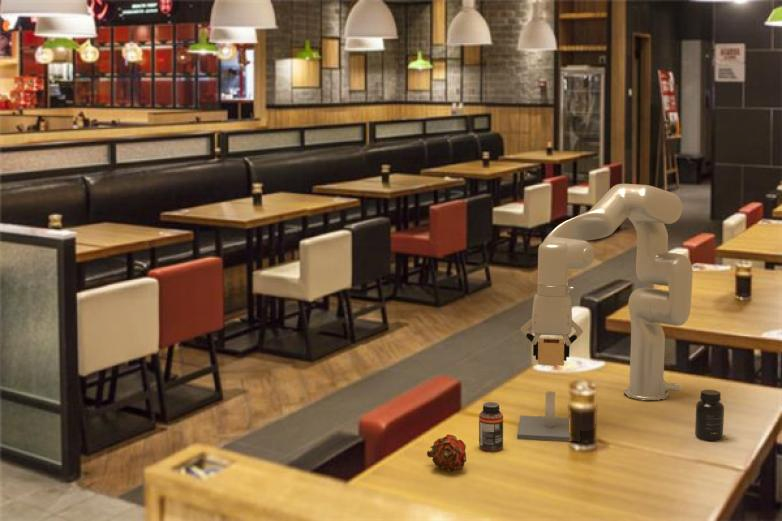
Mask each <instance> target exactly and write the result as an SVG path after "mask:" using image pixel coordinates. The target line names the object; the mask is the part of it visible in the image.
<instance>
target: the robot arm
mask: <svg viewBox="0 0 782 521" xmlns="http://www.w3.org/2000/svg"><path fill="white" fill-rule="evenodd" d="M682 211H683V203H682V200H681V199H680V197H679V196H678V195H677V194H676V193H673V192H671V191H667V190H665V189H662V188H659V187H656V186H653V185H648V184H634V183H632V184H631V183H617V184H615V185H614V186H612V187H611V188H610V189H609V190H608V191H607V192H606V193H605V194H604V195H603V196H602V197H601V198H600V199H599V201H597V203H596V204H595V205H594V206H592V208H591V209H589V210H588V211H586V212H583V213H581V214H579V215H577V216H574V217H571V218H570V219H568V220H565V221H563V222H562V223H559V224H558V225H557V226H556V227H555V228H554V229H552V231H550V232H549V234H548V235H547V236H546V237H545V238H544V240H543V242H542V243H540V244H539V246H538V250H537V252H538V253H537V254H538V255H537V293H536V294H534V297H533V302H532V312H531V319H529V320H528V321H527V322H526V323H525V324H523V325H522V326H521V328H520V332H521V333H523V335H524V336H525V337H526V339H528V340H529V341H530V342H531V344H532V346H533V347H532V356H534V357H535V360H536V361H538V342H539V338H541V336H562V339H564V362H567V358H570V351H571V350H570V346H571V344H573V343H574V342H575V341H576V340H577V339H578V338H579V337H580V336H581V335H582V334H583V333H584V329H583V328H582V327H580V325H578V323H577V322H575V321H574V320H573V313H572V312H573V308H572V307H573V306H572V305H573V304H572V299H571V298H572V297H571V295H569V293H573V292H574V286H570V285H568V281H569V280H568V278H569V277H568V276H569V275H568V274H569V270H583V269H585V268H587V267H590V265H592V263H593V261H594V259H595V256H596V255H595V254H596V252H595V249H594V246H593V245H592V244H591V243H590V242H589V241H593V240H598V239H602V238H605V237H606V238H607V237H608V236H610V235H612V234H613V233H614V232H615V231H616V230H617V229H618V228H619V227H620V226H621V225H622V223H623V222H624V221H625V220H626V219H627V218H628V219H629V221H630V222H631V224H632V225H633V227H634V229H635V231H636V260H635V274H636V277H637V279H638V280H639V281H640V282H642V283H644V284H648V285H649V284H651V285H657V286H661V287H662V286H663V287H667V288H668V290H666V289H662V288H660V289H658V288H653V287H639V288H636V289H635V290H633V291H632V292H631V293H630V295H629V298H628V312H629V317H630V318H629V319H630V359H629V361H630V362H629V386H627V387H625V388H624V389H623V394H624V393H625V394H626V395H628V396H630V397H634V398H637V399H645V400H658V401H661V400H660V399H663V400H666V399H667V398H669V392H679V393H680V392H681V385H680V384H675V383H670V382H669V383H668V382H666V381H665V379H664V373H665V370H664V369H665V347H666V345H665V344H666V337H665V336H666V335H665V331H664V329H663V327H662V325H668V326H674V327H675V326H676V327H678V326H679V327H680V326H682V325H685V323H686V322H688V320H689V317H690V313H691V308H692V306H691V305H692V294H693V293H692V292H693V290H692V289H693V275H694V272H693V265H692V262H691V260H690V259H689V257H688V256H686V255H685V254H682V253H677V252H669V248H668V246H669V245H668V244H669V234H668V231H667V228H666V226H665V224H666V225H670V224H671V225H672V224H674V223H676V222H677V221H678V220H679V219H680V217H681V215H682V213H683V212H682ZM661 324H662V325H661ZM529 328H531V331H532V332H530V331H529V330H528V329H529ZM572 329H573V330H575V332H574V333H573V334H572V335H570V334H571V333H572ZM532 333H533V334H534V335H533V334H532ZM666 397H667V398H666ZM665 398H666V399H665Z"/></svg>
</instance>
